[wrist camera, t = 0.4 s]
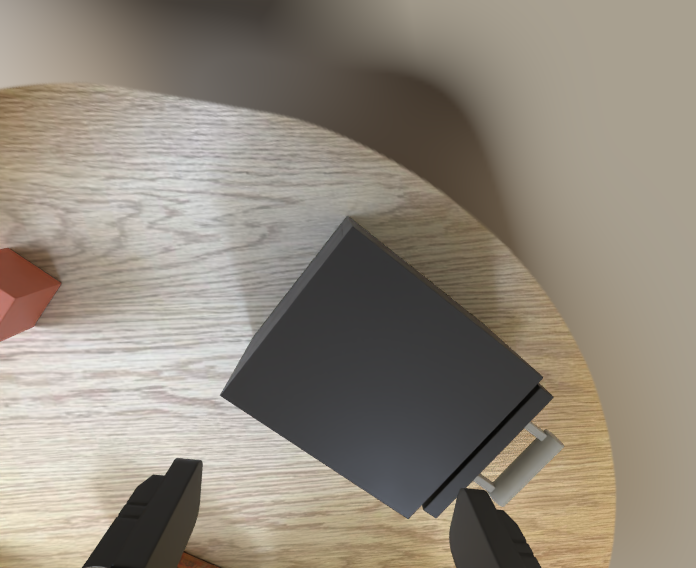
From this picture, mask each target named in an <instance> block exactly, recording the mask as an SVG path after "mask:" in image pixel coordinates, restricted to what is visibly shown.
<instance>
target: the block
mask: <svg viewBox="0 0 696 568" xmlns="http://www.w3.org/2000/svg"><path fill="white" fill-rule="evenodd" d="M60 285H61V283H60V282H59V281H57V280H56V279H54V278H53V277H51V276H50V275H48V274H47V273H45V272H44V271H42V270H41V269H39V268H38V267H36V266H35V265H33V264H32V263H30V262H29V261H27V260H26V259H24V258H23V257H21V256H20V255H18V254H17V253H15V252H14V251H12V250H11V249H9V248H4V249H0V341H3V340H5V339H7V338H9V337H12V336H14V335H16V334H18V333H21V332H23V331H25V330H27V329H30V328H32V327H34V325H35V323H36V322H37V320H38V319H39V317H40V316H41V314H42V313H43V311H44V310H45V308H46V307H47V305H48V304H49V302H50V300H51V299H52V297H53V296H54V294H55V293H56V291H57V290H58V288H59V287H60Z"/></svg>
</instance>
